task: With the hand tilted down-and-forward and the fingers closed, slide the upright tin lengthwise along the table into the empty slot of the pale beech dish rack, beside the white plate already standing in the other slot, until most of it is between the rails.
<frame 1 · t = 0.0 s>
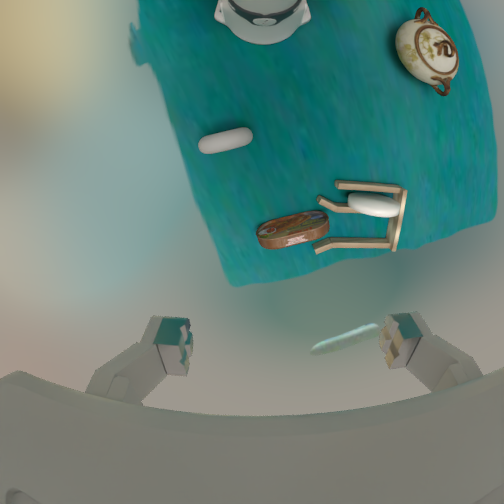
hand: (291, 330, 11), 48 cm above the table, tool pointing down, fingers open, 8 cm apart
sugar bowl: (413, 55, 41), on the table
tin: (290, 221, 60), on the table
rack: (360, 223, 59), on the table
racked plate: (364, 195, 56), on the table
donut: (228, 138, 52), on the table
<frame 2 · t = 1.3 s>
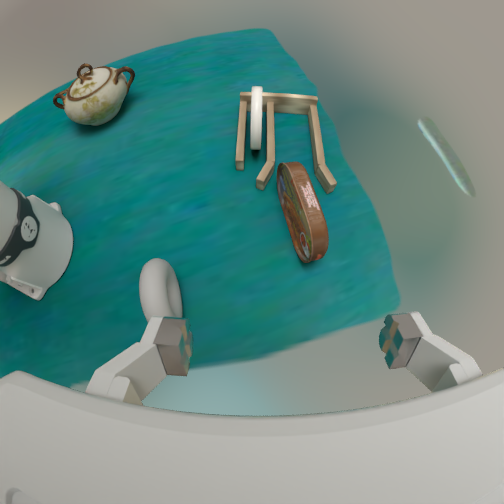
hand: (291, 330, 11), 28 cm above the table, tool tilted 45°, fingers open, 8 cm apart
sugar bowl: (105, 113, 51), on the table
tin: (296, 221, 43), on the table
rack: (292, 140, 47), on the table
racked plate: (255, 138, 47), on the table
donut: (172, 301, 39), on the table
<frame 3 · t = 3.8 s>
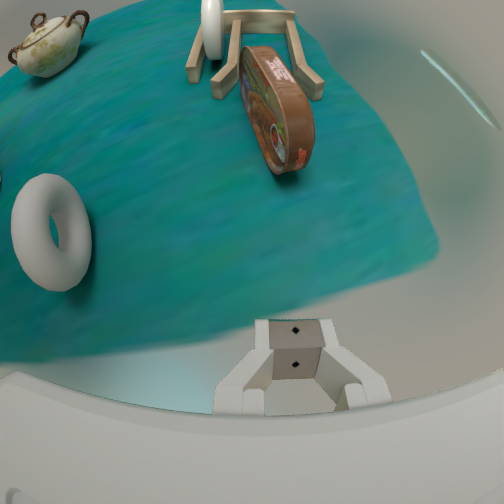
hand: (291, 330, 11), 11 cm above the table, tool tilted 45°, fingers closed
sugar bowl: (60, 65, 36), on the table
tin: (269, 131, 27), on the table
rack: (264, 53, 32), on the table
racked plate: (218, 54, 32), on the table
donut: (85, 250, 24), on the table
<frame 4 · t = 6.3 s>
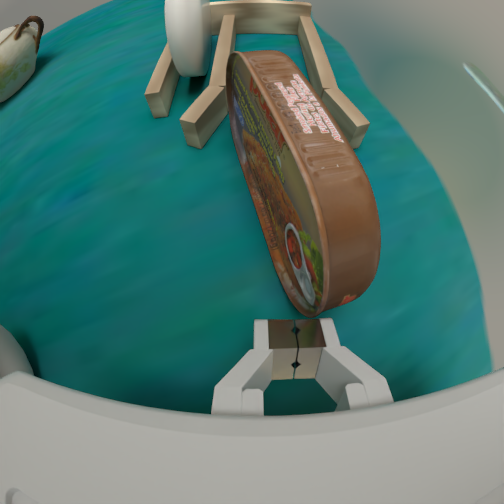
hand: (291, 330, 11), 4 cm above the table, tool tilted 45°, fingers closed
sugar bowl: (17, 84, 26), on the table
tin: (277, 201, 18), on the table, touching gripper
rack: (269, 64, 22), on the table
racked plate: (200, 66, 22), on the table
donut: (33, 386, 14), on the table
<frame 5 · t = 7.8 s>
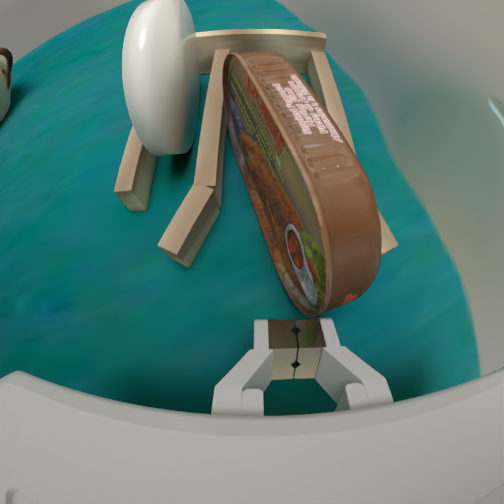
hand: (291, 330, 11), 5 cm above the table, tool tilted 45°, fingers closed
tin: (276, 202, 18), on the table, touching gripper
rack: (273, 125, 19), on the table
racked plate: (186, 126, 19), on the table
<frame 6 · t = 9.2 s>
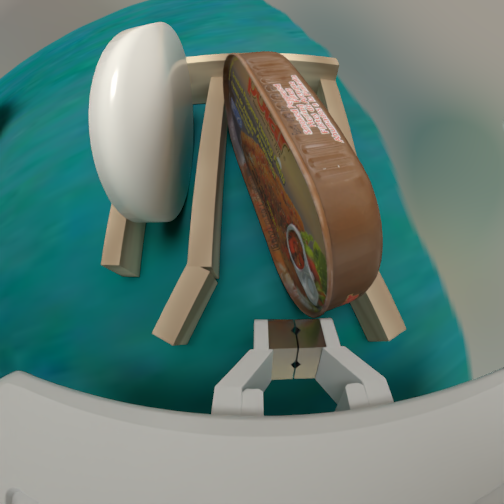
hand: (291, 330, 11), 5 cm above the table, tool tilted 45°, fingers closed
tin: (277, 202, 18), on the table, touching gripper
rack: (276, 174, 18), on the table
racked plate: (179, 173, 18), on the table
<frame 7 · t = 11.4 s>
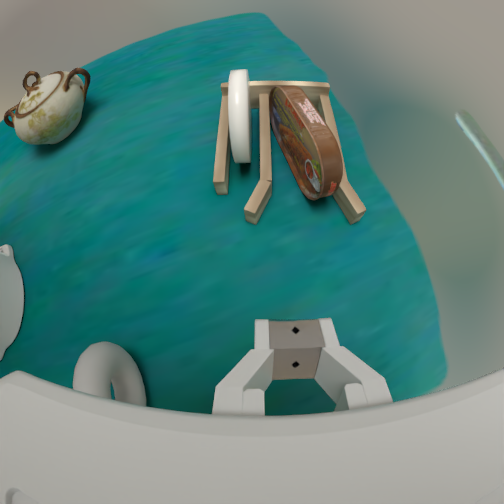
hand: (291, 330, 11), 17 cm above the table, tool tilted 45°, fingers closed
sugar bowl: (65, 127, 39), on the table
tin: (298, 159, 33), on the table
rack: (297, 146, 33), on the table
racked plate: (245, 145, 34), on the table
donut: (136, 386, 26), on the table
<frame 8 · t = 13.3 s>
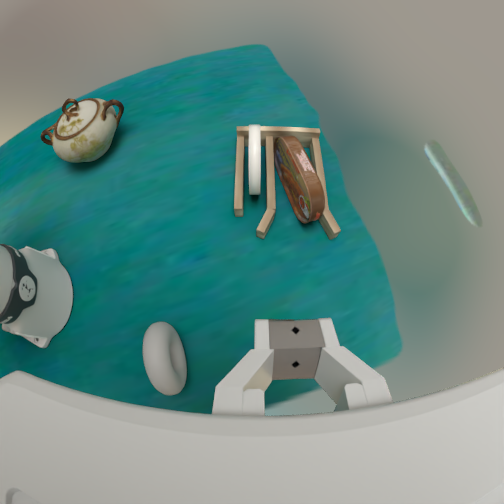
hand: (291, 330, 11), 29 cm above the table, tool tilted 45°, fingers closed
sugar bowl: (96, 147, 50), on the table
tin: (294, 190, 46), on the table
rack: (293, 179, 46), on the table
racked plate: (255, 178, 46), on the table
donut: (176, 356, 38), on the table
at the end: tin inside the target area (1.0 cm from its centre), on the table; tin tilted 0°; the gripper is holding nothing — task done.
